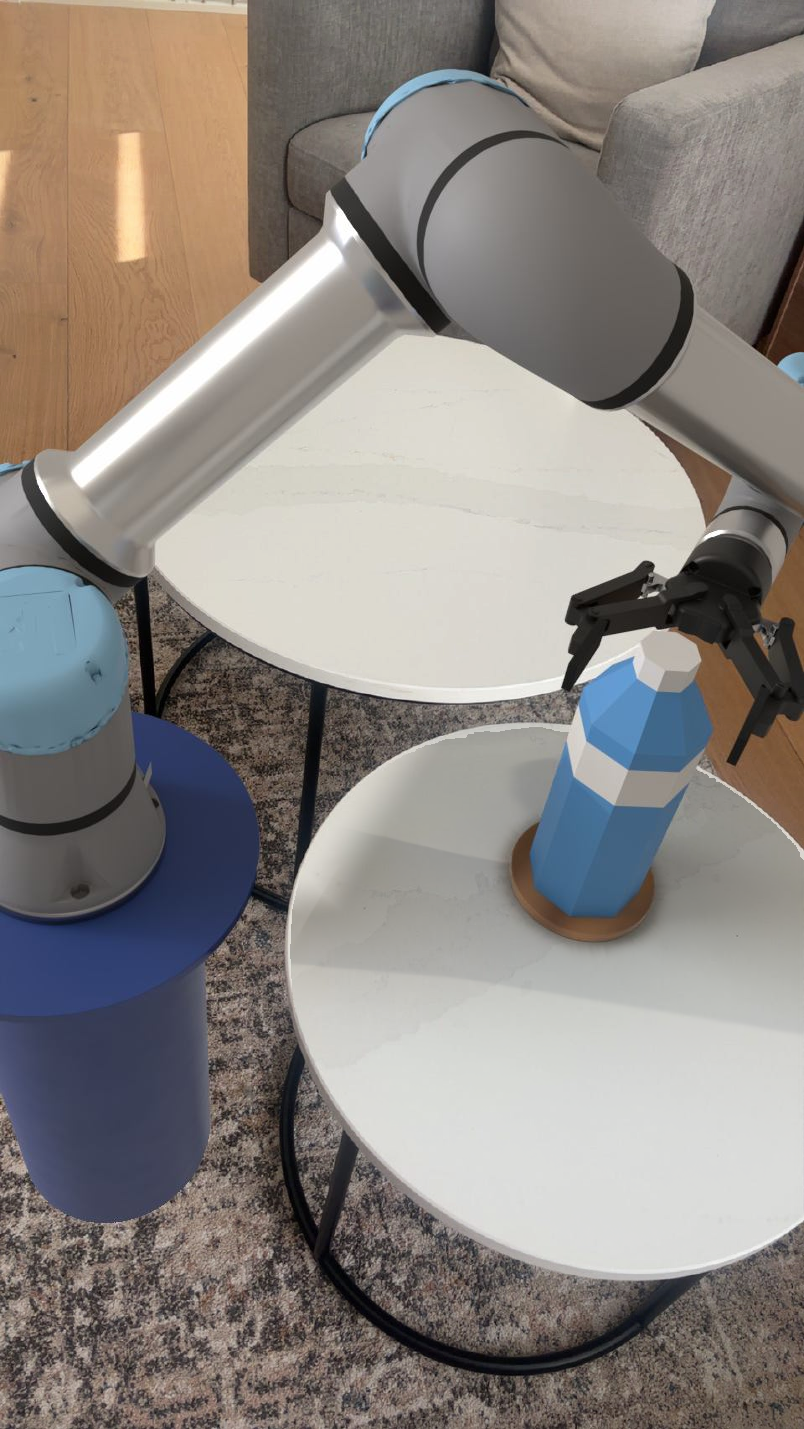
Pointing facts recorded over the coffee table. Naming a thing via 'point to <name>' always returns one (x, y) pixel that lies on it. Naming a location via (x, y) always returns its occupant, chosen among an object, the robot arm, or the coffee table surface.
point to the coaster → (559, 920)
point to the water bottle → (621, 778)
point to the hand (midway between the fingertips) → (650, 714)
